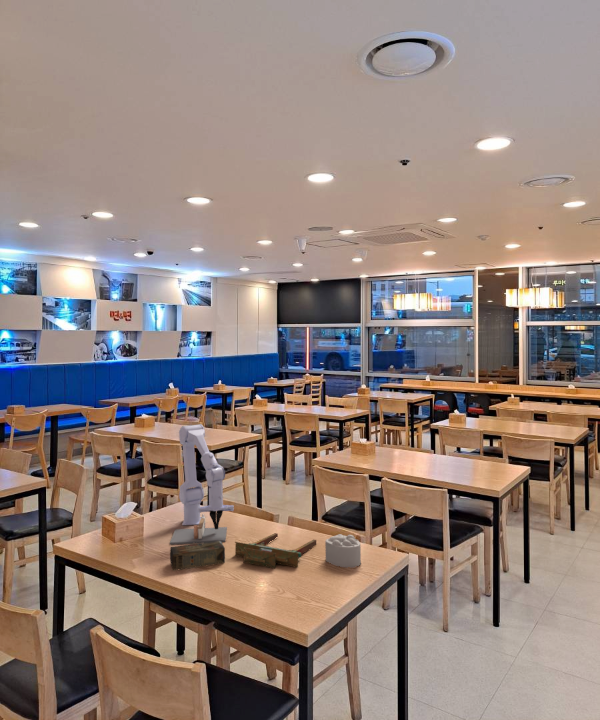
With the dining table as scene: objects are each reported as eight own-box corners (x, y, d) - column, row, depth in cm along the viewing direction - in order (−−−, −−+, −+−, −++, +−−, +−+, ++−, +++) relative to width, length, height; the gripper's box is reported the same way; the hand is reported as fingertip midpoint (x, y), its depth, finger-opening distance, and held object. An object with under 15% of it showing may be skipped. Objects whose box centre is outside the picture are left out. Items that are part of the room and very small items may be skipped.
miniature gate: (325, 537, 212) (288, 558, 186) (325, 551, 212) (288, 574, 186) (266, 527, 225) (224, 546, 198) (266, 541, 225) (223, 561, 198)
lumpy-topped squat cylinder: (341, 552, 205) (341, 529, 205) (367, 562, 195) (367, 538, 195) (321, 560, 198) (321, 536, 198) (348, 570, 188) (347, 545, 188)
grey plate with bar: (175, 531, 232) (174, 515, 232) (227, 528, 234) (226, 513, 234) (169, 544, 217) (169, 527, 216) (225, 541, 219) (225, 525, 218)
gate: (201, 528, 232) (201, 516, 232) (205, 528, 233) (205, 516, 232) (197, 539, 219) (197, 526, 219) (202, 539, 219) (201, 526, 219)
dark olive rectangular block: (226, 563, 197) (225, 545, 197) (171, 572, 190) (171, 553, 190) (221, 556, 204) (221, 538, 204) (169, 563, 198) (168, 545, 198)
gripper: (197, 499, 222) (198, 532, 222) (233, 498, 223) (233, 530, 224) (199, 494, 229) (199, 526, 229) (233, 493, 231) (234, 525, 231)
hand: (216, 528), depth 227 cm, fingers closed
